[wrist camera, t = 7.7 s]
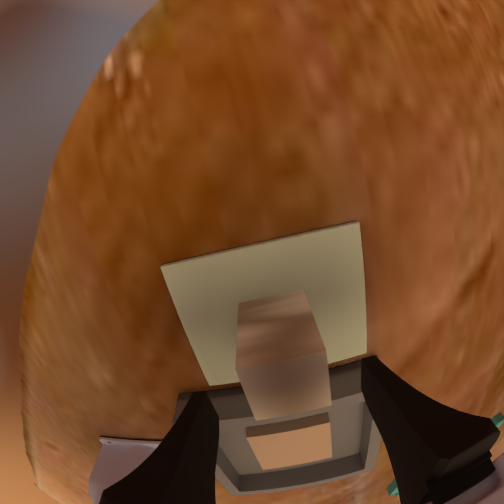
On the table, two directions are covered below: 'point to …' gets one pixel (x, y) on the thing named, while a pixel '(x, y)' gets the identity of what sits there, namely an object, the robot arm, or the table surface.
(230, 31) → the table surface
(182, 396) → the box
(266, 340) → the brown block
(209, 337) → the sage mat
